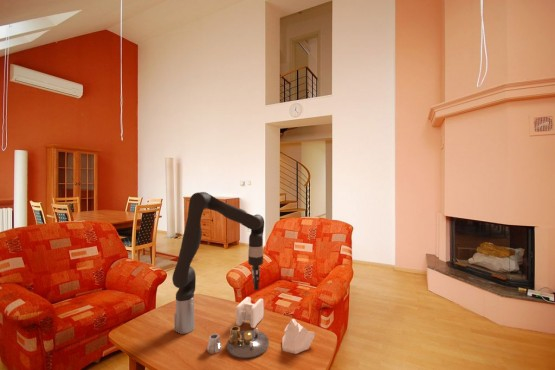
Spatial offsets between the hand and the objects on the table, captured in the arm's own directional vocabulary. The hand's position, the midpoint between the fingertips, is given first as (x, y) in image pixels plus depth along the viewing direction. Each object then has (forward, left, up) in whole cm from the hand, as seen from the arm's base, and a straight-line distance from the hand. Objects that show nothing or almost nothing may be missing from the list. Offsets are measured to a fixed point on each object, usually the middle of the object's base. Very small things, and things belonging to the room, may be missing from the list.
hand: (255, 286), depth 132 cm
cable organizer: (-7, +13, -26) cm, 30 cm away
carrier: (-3, -7, -26) cm, 27 cm away
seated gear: (-9, -7, -25) cm, 27 cm away
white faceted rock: (+20, -5, -26) cm, 34 cm away
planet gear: (-18, -12, -26) cm, 34 cm away
